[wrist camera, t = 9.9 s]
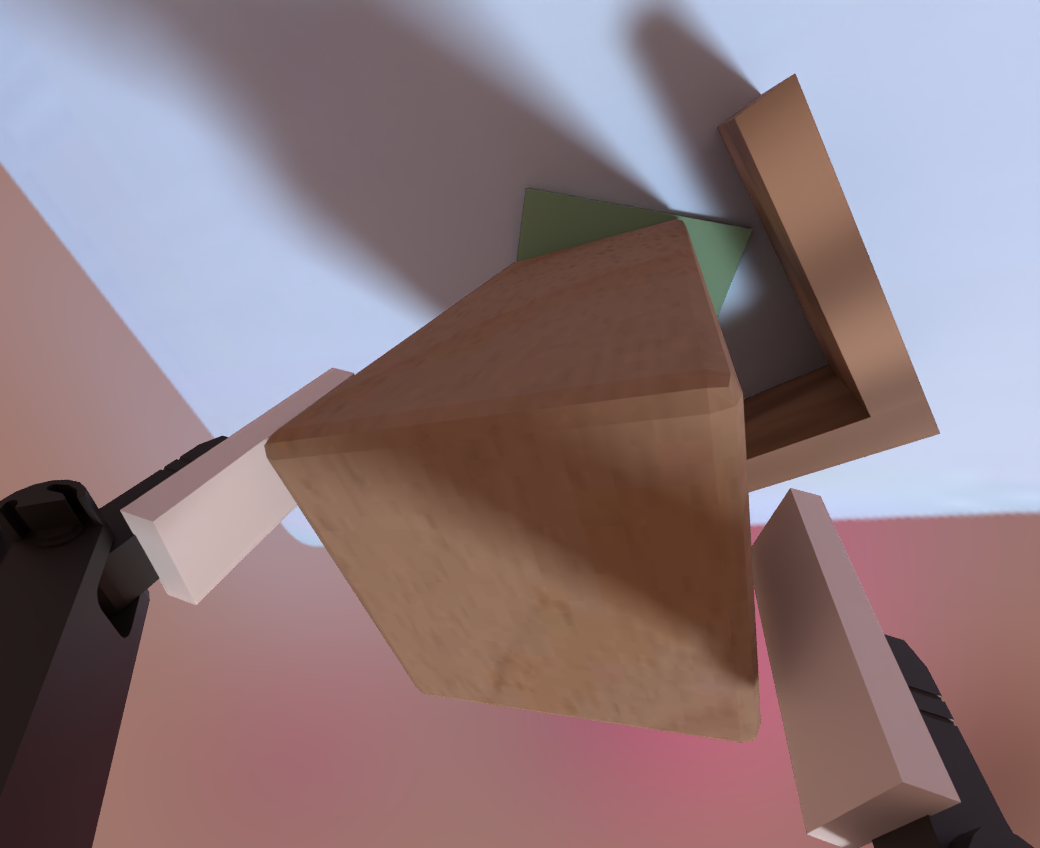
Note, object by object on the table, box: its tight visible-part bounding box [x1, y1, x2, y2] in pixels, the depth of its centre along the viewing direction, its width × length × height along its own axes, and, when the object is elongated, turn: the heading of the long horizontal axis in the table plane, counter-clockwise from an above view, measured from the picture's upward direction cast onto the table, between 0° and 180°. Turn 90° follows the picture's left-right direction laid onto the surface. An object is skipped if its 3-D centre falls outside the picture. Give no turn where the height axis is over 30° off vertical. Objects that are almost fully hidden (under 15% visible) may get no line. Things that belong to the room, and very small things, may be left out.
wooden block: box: [264, 219, 761, 743], centre depth 18 cm, size 10×10×20 cm
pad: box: [517, 188, 753, 317], centre depth 26 cm, size 12×12×1 cm
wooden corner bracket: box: [717, 74, 940, 492], centre depth 24 cm, size 16×20×6 cm
